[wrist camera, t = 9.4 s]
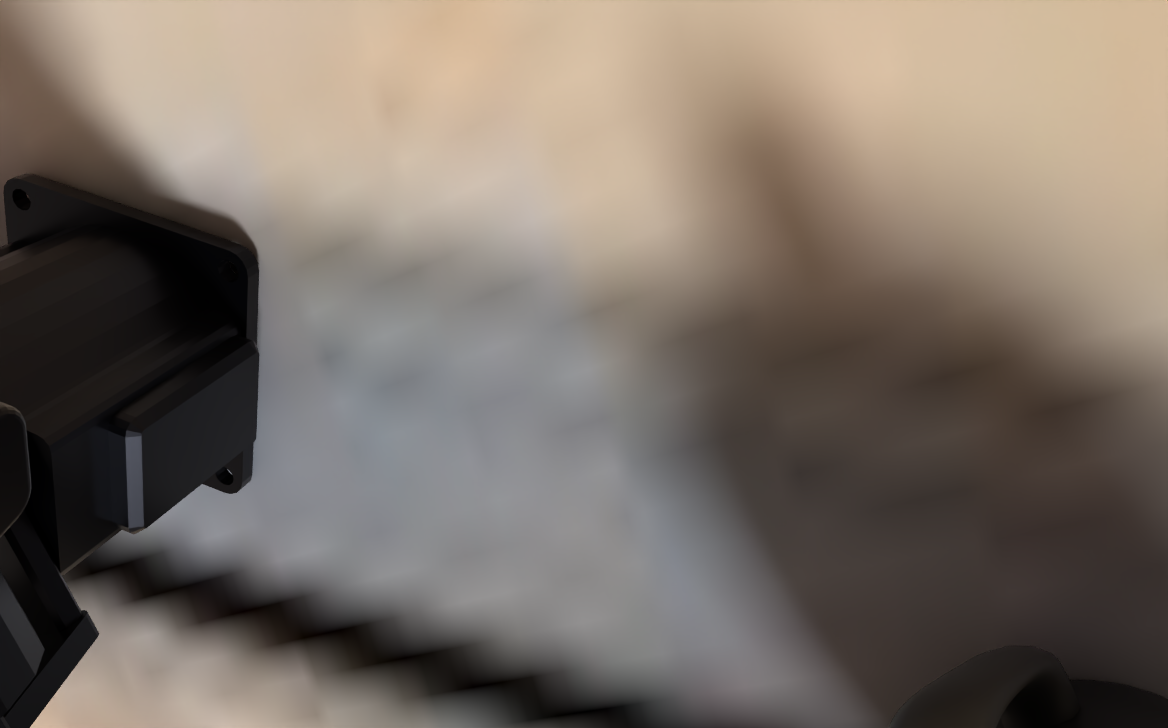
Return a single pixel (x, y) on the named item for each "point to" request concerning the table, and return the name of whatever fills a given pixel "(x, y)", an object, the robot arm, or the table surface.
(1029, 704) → the mug
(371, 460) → the table surface
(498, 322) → the table surface
